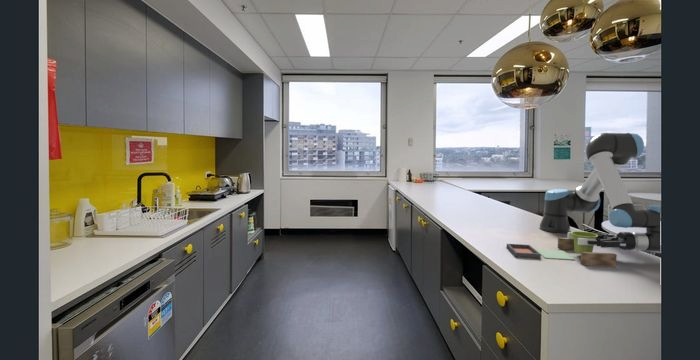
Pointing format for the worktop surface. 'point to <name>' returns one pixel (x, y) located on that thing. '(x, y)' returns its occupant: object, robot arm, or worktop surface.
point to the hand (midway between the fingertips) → (572, 238)
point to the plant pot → (583, 247)
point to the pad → (555, 254)
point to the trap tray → (523, 251)
